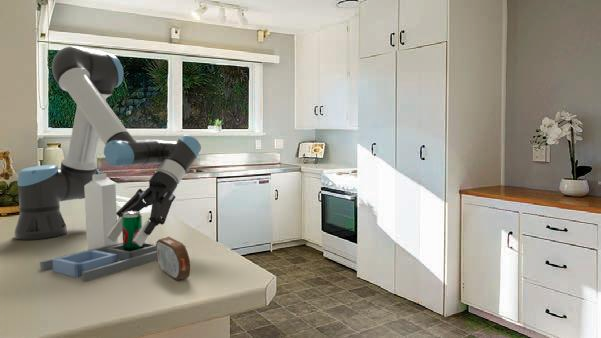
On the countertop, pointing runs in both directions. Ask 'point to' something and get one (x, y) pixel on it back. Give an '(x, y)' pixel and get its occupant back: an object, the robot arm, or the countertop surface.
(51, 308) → the countertop surface
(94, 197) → the milk
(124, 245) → the soda can
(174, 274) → the tin
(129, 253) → the grey railed frame
